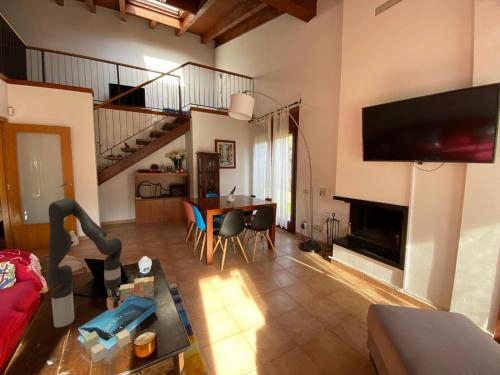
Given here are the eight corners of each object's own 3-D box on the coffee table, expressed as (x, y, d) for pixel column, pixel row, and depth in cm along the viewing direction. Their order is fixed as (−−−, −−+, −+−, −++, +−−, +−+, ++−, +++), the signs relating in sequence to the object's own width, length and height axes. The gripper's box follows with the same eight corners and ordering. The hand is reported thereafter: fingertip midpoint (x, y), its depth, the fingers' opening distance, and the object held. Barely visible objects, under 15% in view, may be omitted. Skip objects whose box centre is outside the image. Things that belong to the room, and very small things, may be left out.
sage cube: (84, 345, 113) (83, 336, 112) (95, 339, 117) (95, 330, 116) (87, 350, 110) (86, 341, 109) (99, 344, 114) (98, 335, 113)
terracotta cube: (107, 307, 120) (106, 298, 119) (117, 302, 124) (116, 294, 123) (110, 311, 117) (110, 302, 116) (120, 306, 121) (120, 298, 120)
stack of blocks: (119, 302, 147) (118, 285, 146) (121, 297, 153) (120, 280, 152) (154, 297, 154) (153, 280, 153) (154, 292, 160) (154, 275, 159)
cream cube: (116, 343, 114) (115, 334, 114) (126, 337, 118) (126, 329, 118) (120, 348, 111) (119, 339, 111) (130, 342, 115) (130, 333, 115)
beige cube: (91, 357, 106) (90, 348, 105) (103, 350, 110) (102, 341, 109) (94, 363, 103) (94, 353, 102) (106, 356, 107) (106, 347, 106)
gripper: (99, 273, 120) (101, 303, 122) (109, 283, 111) (111, 314, 113) (115, 268, 125) (116, 296, 127) (125, 277, 117) (126, 307, 118)
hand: (114, 305), depth 120 cm, fingers closed on terracotta cube, 5 cm apart
